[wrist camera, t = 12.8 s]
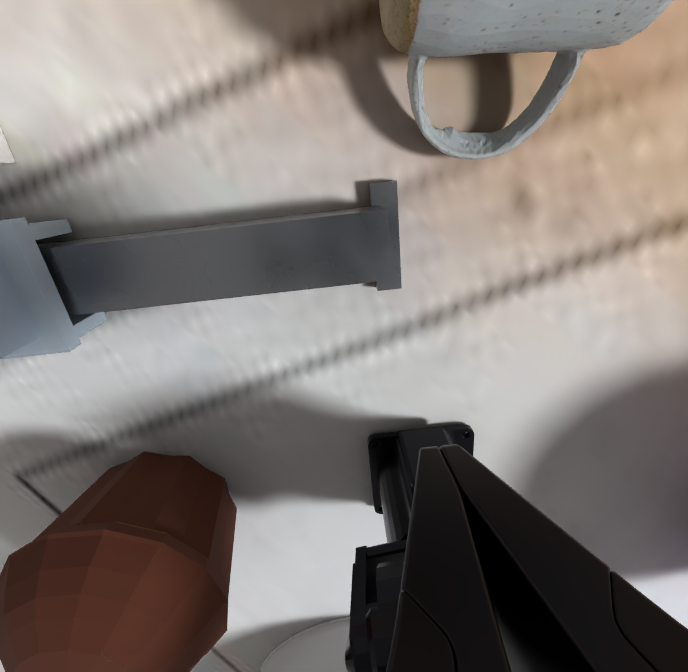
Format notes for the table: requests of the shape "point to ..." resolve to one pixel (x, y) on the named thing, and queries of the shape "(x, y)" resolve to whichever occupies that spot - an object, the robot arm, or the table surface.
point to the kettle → (312, 649)
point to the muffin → (124, 574)
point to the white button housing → (5, 151)
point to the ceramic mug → (507, 50)
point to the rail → (231, 258)
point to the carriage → (34, 295)
